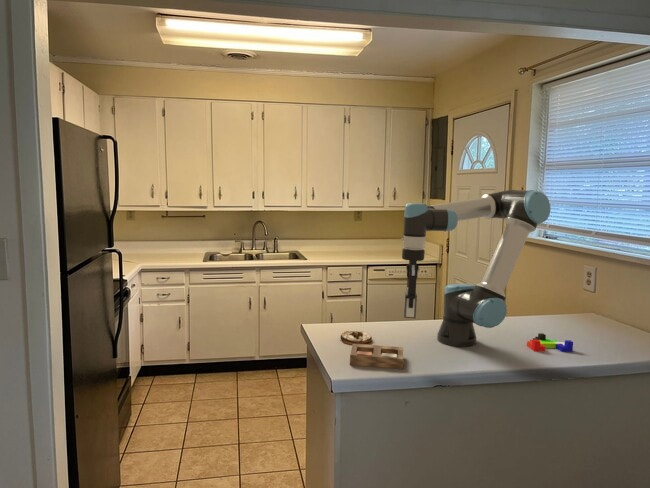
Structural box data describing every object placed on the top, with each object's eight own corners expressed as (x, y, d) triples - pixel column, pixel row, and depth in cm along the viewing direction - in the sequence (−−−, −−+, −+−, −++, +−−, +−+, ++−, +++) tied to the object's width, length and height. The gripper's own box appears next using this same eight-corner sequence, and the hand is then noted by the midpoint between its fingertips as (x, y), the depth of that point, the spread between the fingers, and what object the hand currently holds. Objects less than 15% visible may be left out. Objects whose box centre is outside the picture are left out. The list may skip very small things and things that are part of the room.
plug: (414, 315, 171) (416, 287, 170) (415, 318, 167) (417, 290, 166) (403, 314, 172) (405, 286, 171) (403, 317, 168) (405, 289, 167)
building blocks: (555, 342, 199) (556, 331, 199) (572, 353, 186) (573, 342, 186) (519, 341, 199) (520, 331, 198) (534, 352, 186) (534, 341, 185)
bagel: (341, 333, 202) (342, 323, 202) (377, 337, 198) (377, 327, 198) (332, 344, 188) (333, 334, 188) (370, 349, 184) (371, 338, 184)
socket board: (402, 356, 176) (402, 345, 176) (402, 368, 164) (403, 357, 164) (352, 352, 178) (353, 342, 178) (349, 364, 167) (350, 353, 166)
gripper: (401, 244, 175) (398, 308, 178) (403, 251, 159) (399, 320, 162) (423, 245, 174) (419, 309, 177) (426, 252, 158) (422, 322, 161)
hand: (409, 314), depth 169 cm, fingers closed on plug, 4 cm apart
